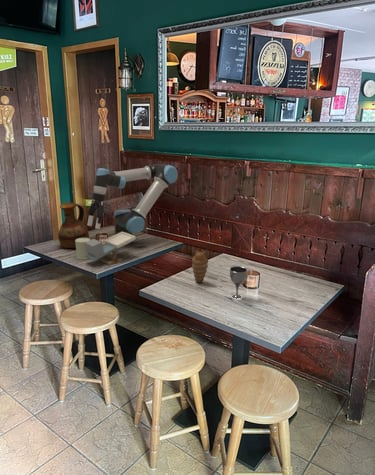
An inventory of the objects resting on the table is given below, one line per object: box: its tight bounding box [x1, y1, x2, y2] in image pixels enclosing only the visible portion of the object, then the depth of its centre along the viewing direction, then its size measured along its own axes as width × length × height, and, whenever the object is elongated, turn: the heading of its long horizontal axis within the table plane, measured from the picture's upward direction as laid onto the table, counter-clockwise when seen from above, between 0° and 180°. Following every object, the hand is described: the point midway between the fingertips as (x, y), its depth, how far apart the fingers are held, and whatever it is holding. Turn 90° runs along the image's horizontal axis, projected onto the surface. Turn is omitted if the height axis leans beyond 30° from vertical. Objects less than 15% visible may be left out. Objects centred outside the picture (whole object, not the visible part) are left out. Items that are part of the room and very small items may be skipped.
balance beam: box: [85, 232, 137, 262], centre depth 229 cm, size 30×14×8 cm, turn 134°
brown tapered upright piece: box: [191, 250, 209, 284], centre depth 199 cm, size 9×8×18 cm
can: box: [75, 237, 91, 261], centre depth 234 cm, size 9×9×12 cm
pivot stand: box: [96, 244, 124, 266], centre depth 231 cm, size 10×15×8 cm, turn 44°
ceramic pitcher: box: [57, 202, 90, 249], centre depth 253 cm, size 20×20×30 cm
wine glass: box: [229, 265, 248, 299], centre depth 183 cm, size 8×8×15 cm
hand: (93, 227), depth 233 cm, fingers open, 13 cm apart
